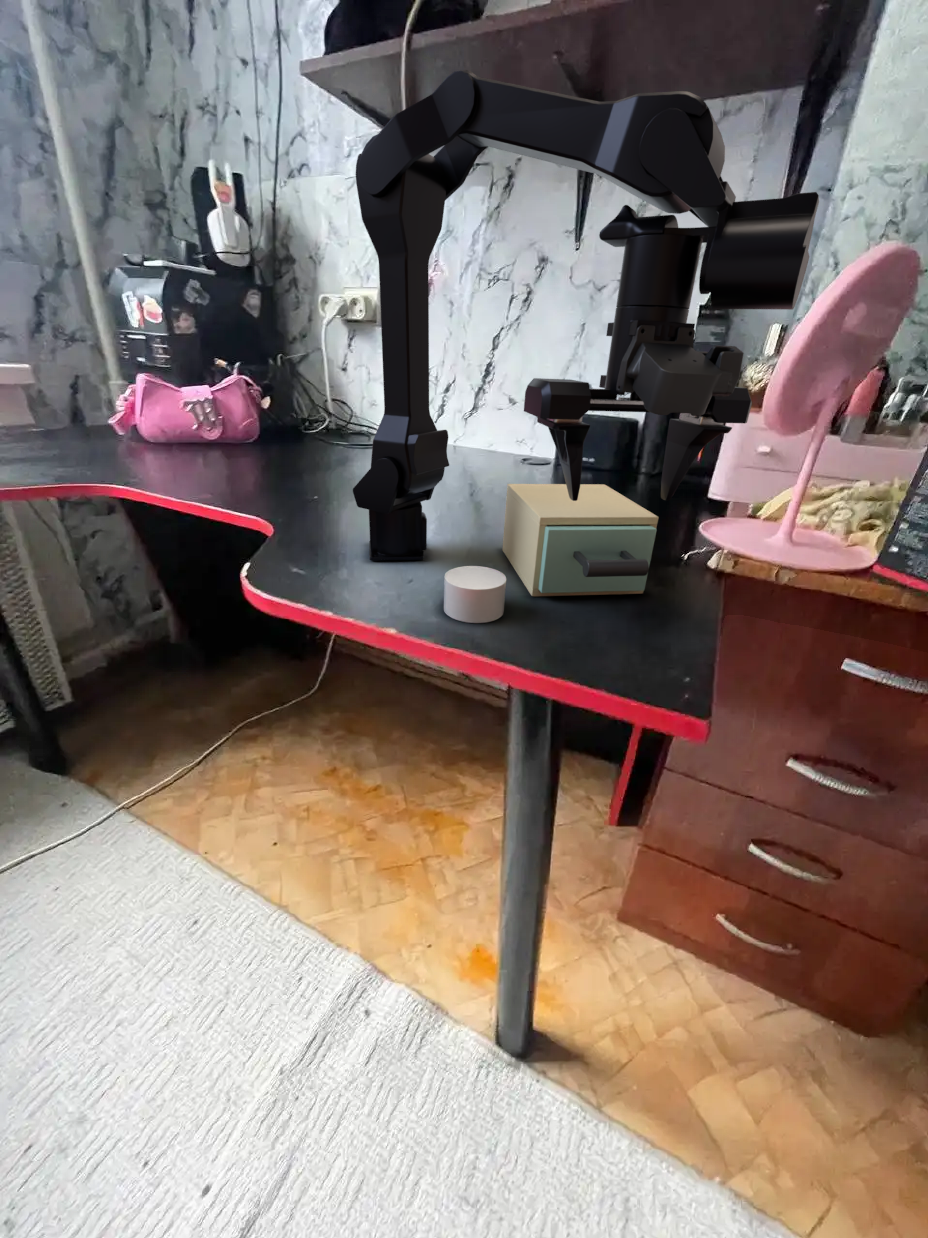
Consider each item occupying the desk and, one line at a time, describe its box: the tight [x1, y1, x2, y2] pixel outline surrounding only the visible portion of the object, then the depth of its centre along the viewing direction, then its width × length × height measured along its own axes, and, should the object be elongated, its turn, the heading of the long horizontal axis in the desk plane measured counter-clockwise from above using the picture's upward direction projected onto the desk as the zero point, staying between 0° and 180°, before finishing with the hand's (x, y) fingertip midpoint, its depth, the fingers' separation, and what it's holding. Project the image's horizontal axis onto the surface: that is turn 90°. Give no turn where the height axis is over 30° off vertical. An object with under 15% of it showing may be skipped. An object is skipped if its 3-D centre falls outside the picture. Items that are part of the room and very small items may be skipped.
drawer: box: [538, 525, 658, 593], centre depth 60 cm, size 18×11×7 cm, turn 9°
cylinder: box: [443, 565, 507, 624], centre depth 54 cm, size 6×6×4 cm
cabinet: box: [502, 483, 659, 597], centre depth 63 cm, size 15×13×9 cm
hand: (619, 499), depth 51 cm, fingers open, 9 cm apart
